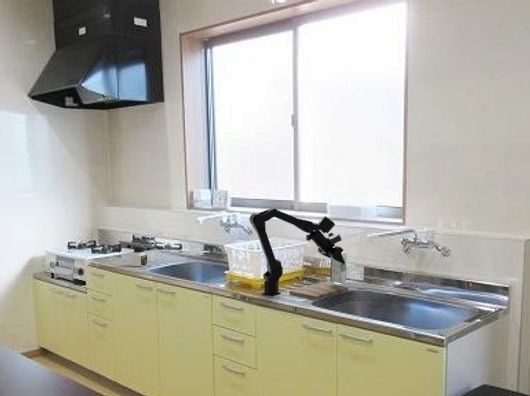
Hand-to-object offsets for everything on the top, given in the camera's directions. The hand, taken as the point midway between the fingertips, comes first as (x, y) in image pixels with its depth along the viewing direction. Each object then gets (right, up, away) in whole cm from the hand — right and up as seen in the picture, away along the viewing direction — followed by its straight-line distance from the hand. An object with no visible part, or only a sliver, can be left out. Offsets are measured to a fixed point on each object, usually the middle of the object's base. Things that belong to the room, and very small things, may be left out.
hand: (341, 261), depth 260 cm
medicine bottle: (-115, -11, +69) cm, 134 cm away
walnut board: (-12, -13, -8) cm, 19 cm away
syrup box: (-1, -10, 0) cm, 10 cm away
